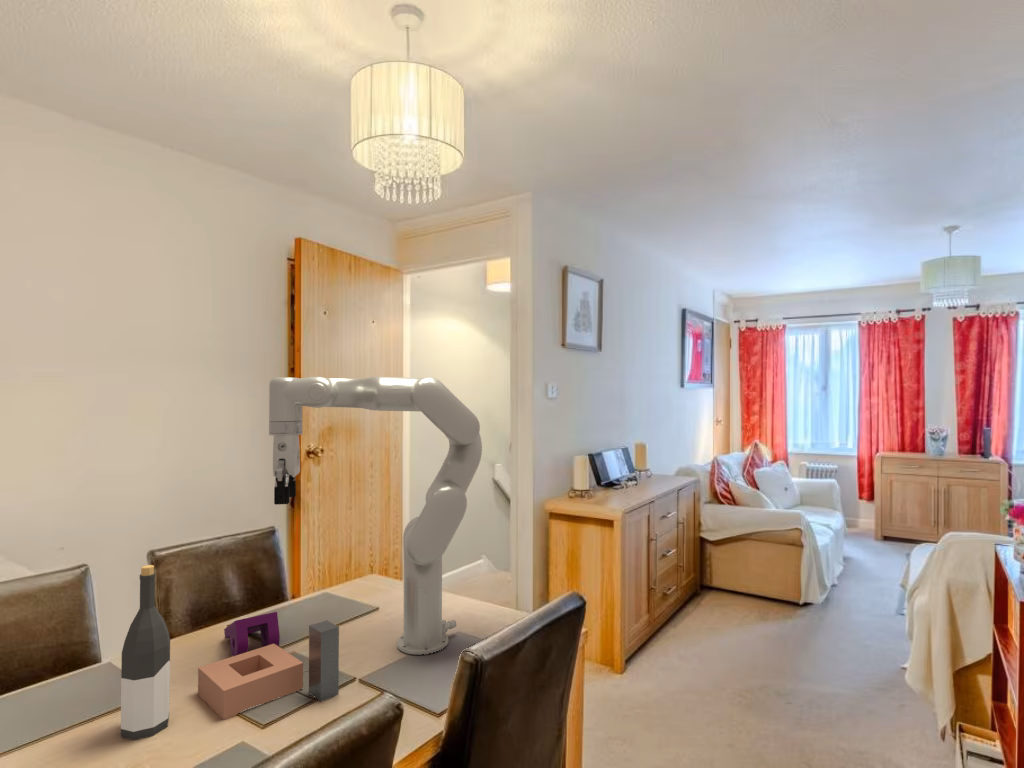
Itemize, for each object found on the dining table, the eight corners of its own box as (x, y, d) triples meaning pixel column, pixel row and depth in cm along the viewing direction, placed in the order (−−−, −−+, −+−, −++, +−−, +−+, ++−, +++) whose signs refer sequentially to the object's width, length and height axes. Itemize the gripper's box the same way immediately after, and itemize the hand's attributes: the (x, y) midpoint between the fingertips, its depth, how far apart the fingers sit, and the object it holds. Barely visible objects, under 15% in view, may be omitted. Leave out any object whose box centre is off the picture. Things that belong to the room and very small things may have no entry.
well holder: (273, 667, 131) (273, 643, 132) (303, 689, 122) (303, 662, 122) (198, 694, 120) (198, 667, 120) (223, 719, 110) (223, 690, 110)
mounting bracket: (223, 667, 145) (238, 658, 132) (221, 631, 148) (235, 620, 135) (263, 656, 150) (281, 648, 138) (260, 623, 153) (277, 611, 141)
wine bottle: (135, 716, 111) (137, 560, 112) (178, 714, 112) (180, 559, 113) (109, 741, 103) (112, 573, 104) (156, 739, 104) (158, 572, 105)
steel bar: (326, 686, 123) (326, 620, 123) (338, 694, 120) (338, 626, 120) (308, 693, 120) (309, 625, 120) (320, 701, 117) (321, 632, 117)
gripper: (297, 430, 130) (296, 506, 130) (307, 426, 147) (306, 493, 147) (261, 431, 129) (261, 507, 128) (275, 427, 146) (275, 495, 145)
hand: (285, 500), depth 138 cm, fingers open, 9 cm apart
